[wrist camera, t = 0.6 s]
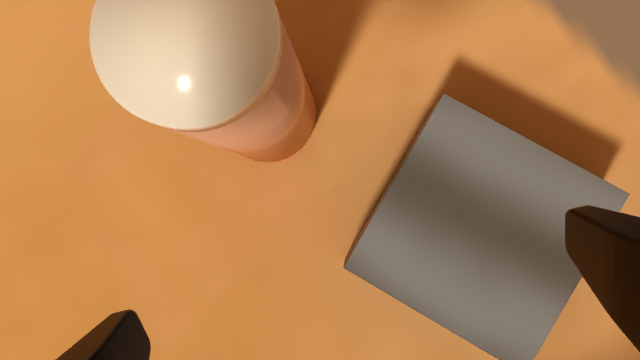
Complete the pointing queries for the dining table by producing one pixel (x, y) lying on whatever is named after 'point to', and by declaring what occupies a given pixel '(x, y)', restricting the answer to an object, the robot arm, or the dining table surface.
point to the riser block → (479, 231)
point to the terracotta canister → (206, 71)
